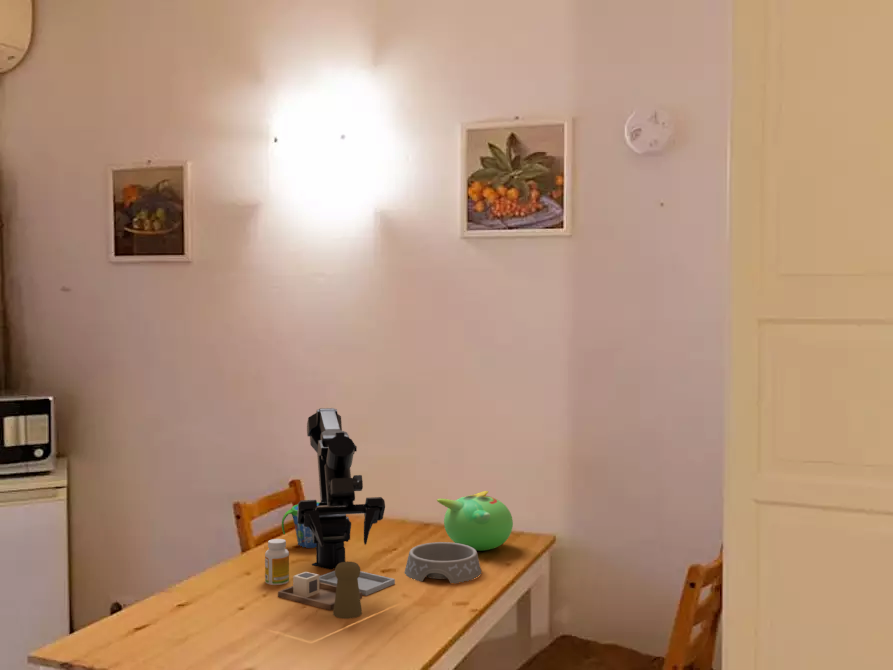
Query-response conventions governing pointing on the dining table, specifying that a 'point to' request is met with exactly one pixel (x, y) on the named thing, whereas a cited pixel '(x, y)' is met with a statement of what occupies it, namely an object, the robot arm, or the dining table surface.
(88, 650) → the dining table surface
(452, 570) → the dog bowl
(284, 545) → the supplement bottle
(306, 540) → the snack cup
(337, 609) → the brown rounded upright piece
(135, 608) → the dining table surface
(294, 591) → the beige and grey cube
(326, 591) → the walnut tray
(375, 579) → the grey tray
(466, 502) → the green creature toy
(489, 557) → the dining table surface
